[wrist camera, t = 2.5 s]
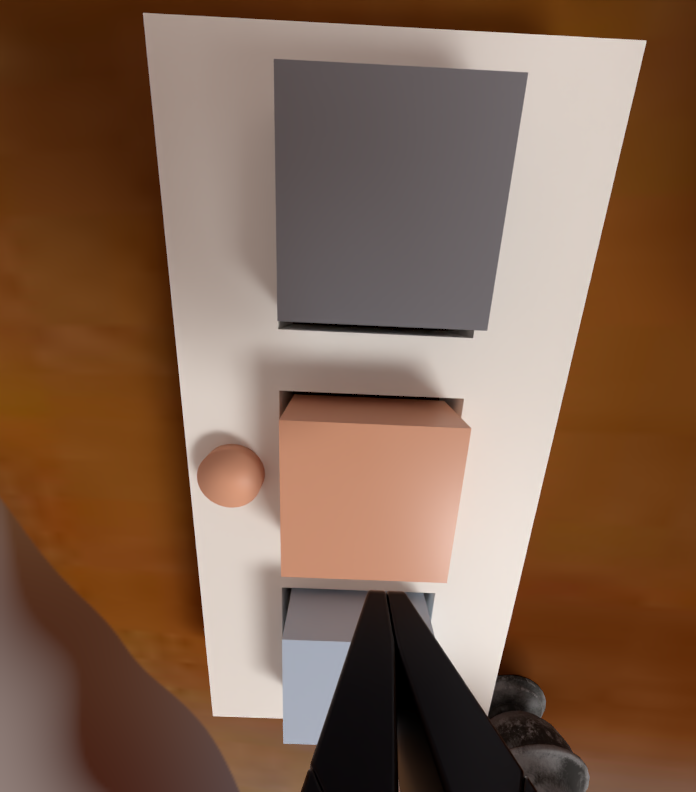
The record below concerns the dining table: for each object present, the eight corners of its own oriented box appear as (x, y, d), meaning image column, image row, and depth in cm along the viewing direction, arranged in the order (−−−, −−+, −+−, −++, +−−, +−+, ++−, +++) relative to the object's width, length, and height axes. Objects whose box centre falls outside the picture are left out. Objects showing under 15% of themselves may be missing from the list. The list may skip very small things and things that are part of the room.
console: (193, 83, 12) (128, -8, 8) (574, 103, 12) (666, 22, 8) (233, 654, 20) (208, 730, 16) (465, 663, 20) (490, 740, 16)
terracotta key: (294, 394, 13) (278, 420, 10) (444, 400, 13) (471, 428, 10) (294, 522, 15) (281, 576, 12) (427, 528, 15) (446, 582, 12)
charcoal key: (294, 125, 10) (273, 59, 8) (479, 135, 11) (528, 72, 8) (294, 316, 12) (277, 321, 9) (454, 324, 12) (486, 330, 9)
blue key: (294, 576, 15) (281, 639, 13) (420, 581, 15) (436, 645, 13) (294, 669, 17) (283, 743, 14) (408, 672, 17) (420, 747, 14)
